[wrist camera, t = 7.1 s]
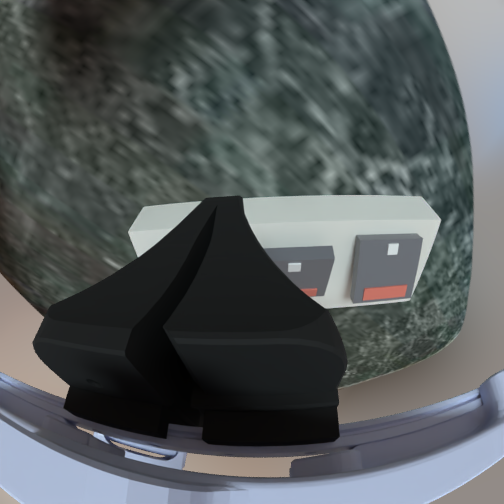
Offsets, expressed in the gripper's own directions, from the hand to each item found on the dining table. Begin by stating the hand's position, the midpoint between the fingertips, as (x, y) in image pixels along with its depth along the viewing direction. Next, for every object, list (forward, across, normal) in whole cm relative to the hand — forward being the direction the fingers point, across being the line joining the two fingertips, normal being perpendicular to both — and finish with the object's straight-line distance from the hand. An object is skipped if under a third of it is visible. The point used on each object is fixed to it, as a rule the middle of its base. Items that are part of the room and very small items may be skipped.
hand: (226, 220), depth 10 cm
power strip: (+10, -3, +9) cm, 14 cm away
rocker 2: (+5, -10, +8) cm, 14 cm away
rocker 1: (+5, -3, +8) cm, 10 cm away
